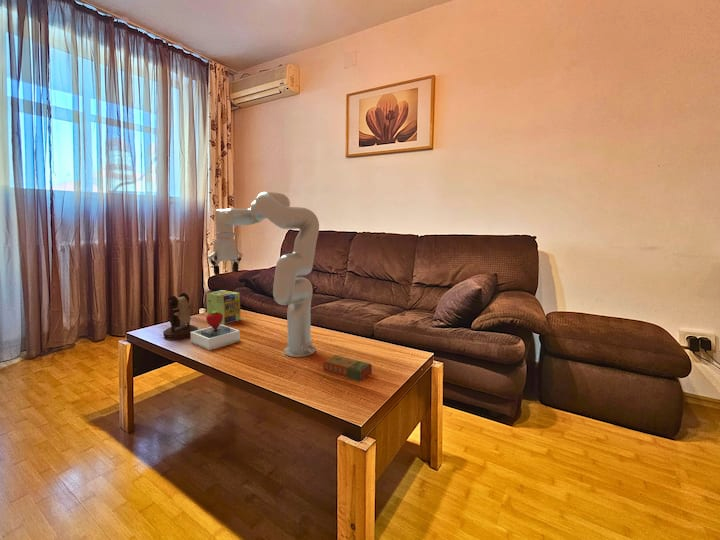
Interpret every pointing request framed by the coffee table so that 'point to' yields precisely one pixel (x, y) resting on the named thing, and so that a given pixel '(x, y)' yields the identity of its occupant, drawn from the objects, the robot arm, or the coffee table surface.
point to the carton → (347, 367)
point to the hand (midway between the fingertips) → (226, 272)
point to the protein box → (224, 305)
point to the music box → (180, 323)
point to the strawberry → (214, 319)
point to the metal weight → (215, 331)
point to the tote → (215, 339)
